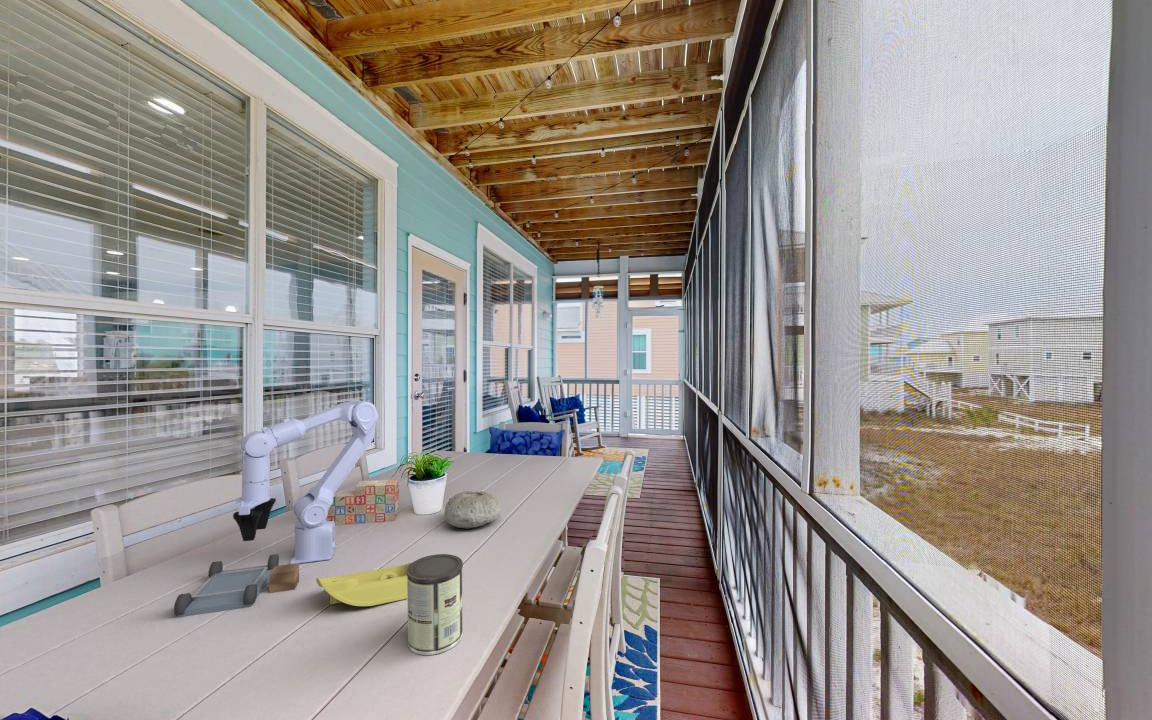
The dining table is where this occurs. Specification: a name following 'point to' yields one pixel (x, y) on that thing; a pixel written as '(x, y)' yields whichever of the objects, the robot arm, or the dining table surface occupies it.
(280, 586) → the engine block
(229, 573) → the chassis
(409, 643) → the coffee can
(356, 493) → the stack of blocks
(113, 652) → the dining table surface
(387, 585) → the plastic component
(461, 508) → the grey rounded lump
